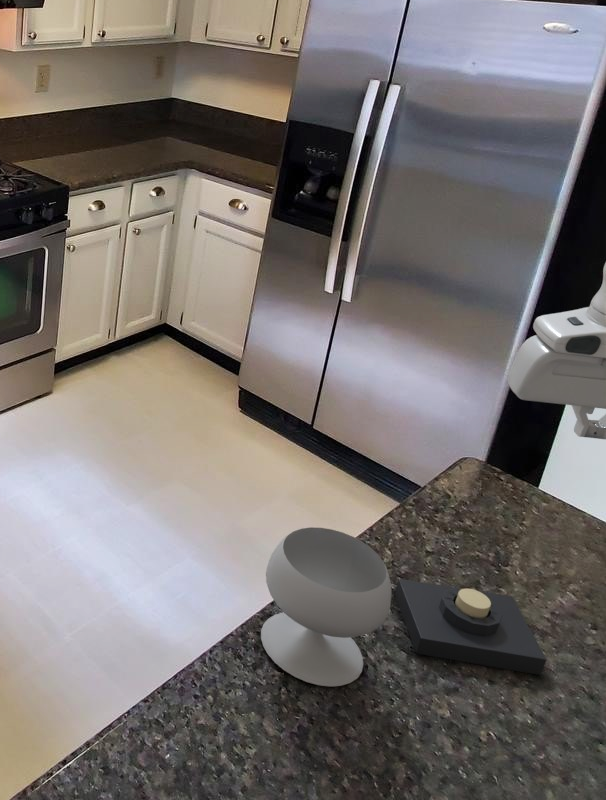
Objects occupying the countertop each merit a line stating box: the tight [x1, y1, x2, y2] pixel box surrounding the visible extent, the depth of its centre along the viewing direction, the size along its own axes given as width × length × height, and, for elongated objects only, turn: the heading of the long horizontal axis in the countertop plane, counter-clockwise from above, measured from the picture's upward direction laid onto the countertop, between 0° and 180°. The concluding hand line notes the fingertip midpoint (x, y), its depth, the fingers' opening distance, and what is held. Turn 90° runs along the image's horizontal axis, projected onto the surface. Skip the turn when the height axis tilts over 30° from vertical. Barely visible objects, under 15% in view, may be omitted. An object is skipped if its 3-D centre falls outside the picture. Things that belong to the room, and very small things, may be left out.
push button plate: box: [394, 578, 547, 676], centre depth 104 cm, size 14×11×4 cm
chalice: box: [260, 526, 392, 687], centre depth 99 cm, size 14×14×15 cm
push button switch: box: [455, 587, 491, 618], centre depth 103 cm, size 4×4×2 cm
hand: (589, 435), depth 98 cm, fingers closed
